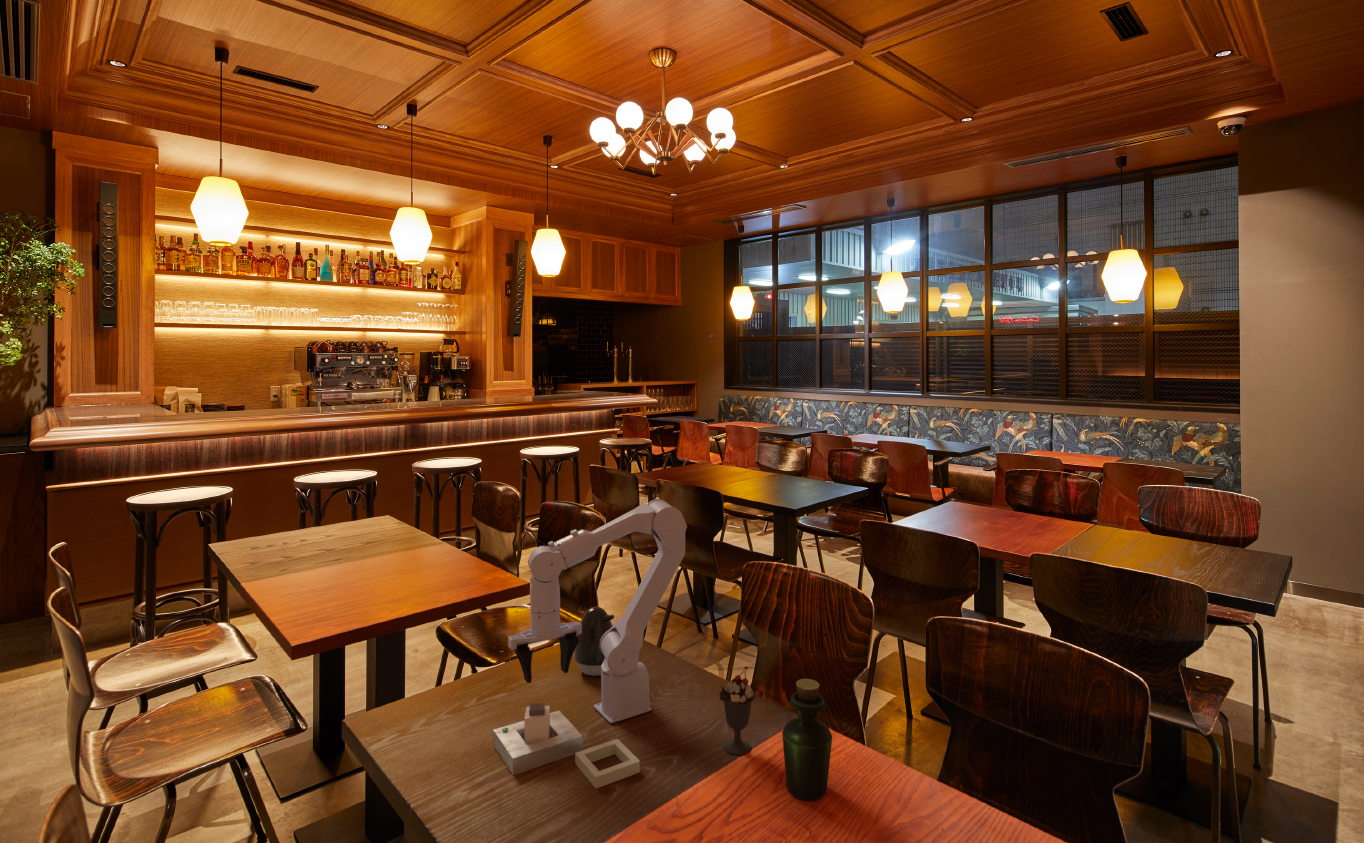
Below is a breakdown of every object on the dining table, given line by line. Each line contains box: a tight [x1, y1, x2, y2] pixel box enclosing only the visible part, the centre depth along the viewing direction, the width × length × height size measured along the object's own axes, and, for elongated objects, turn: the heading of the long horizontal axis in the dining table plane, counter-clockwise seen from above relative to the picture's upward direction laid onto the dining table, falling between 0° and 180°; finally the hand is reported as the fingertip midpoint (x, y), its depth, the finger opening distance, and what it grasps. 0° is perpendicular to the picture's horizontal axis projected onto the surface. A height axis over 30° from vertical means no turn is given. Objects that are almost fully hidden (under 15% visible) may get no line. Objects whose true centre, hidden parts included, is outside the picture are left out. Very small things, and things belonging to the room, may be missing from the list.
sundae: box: [719, 665, 757, 756], centre depth 121 cm, size 7×7×15 cm
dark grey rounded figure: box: [573, 606, 615, 677], centre depth 152 cm, size 10×10×15 cm
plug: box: [523, 702, 551, 745], centre depth 121 cm, size 4×4×8 cm
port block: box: [492, 710, 584, 776], centre depth 121 cm, size 13×11×3 cm
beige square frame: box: [574, 738, 641, 790], centre depth 115 cm, size 8×8×2 cm
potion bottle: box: [782, 678, 833, 802], centre depth 108 cm, size 8×8×18 cm
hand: (546, 675), depth 130 cm, fingers open, 7 cm apart
